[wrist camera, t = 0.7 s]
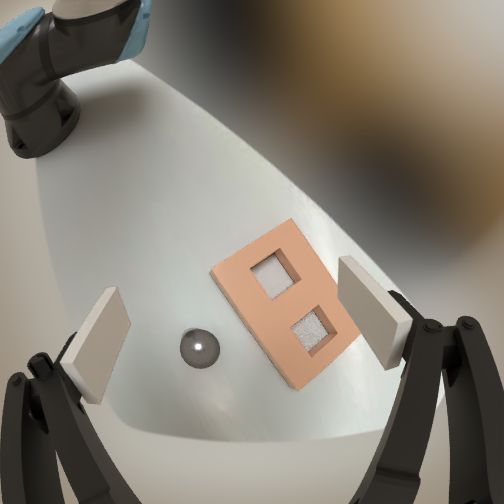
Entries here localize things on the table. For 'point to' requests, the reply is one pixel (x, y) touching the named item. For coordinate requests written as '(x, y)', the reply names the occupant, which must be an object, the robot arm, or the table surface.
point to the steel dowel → (199, 348)
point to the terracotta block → (287, 303)
